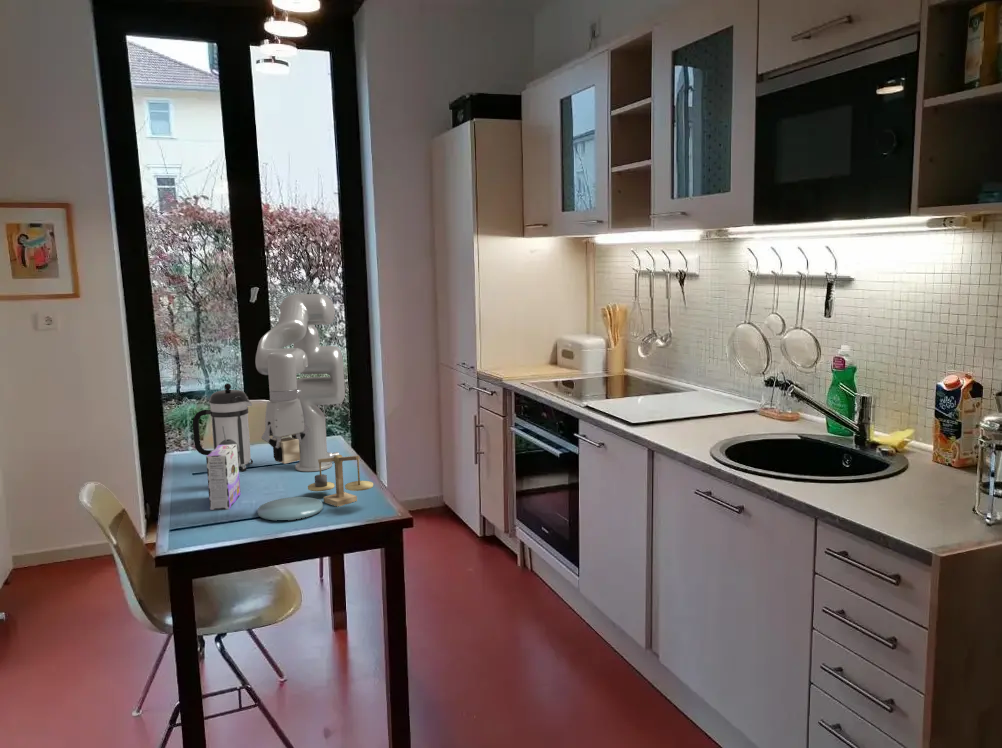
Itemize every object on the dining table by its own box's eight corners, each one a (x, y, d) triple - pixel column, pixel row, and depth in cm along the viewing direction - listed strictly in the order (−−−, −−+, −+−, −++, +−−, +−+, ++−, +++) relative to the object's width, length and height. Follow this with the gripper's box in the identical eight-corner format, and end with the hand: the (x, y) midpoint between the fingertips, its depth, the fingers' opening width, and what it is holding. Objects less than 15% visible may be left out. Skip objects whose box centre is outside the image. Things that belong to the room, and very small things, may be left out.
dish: (300, 498, 236) (300, 493, 236) (335, 510, 224) (335, 505, 224) (246, 513, 223) (245, 507, 223) (279, 527, 211) (279, 521, 211)
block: (290, 457, 225) (289, 437, 224) (300, 460, 221) (298, 439, 220) (275, 460, 221) (273, 440, 220) (284, 463, 218) (283, 442, 217)
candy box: (221, 496, 240) (218, 444, 238) (241, 495, 241) (237, 443, 238) (209, 510, 226) (204, 455, 224) (229, 509, 227) (225, 454, 224)
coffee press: (242, 459, 284) (236, 378, 280) (263, 467, 273) (257, 383, 268) (195, 469, 272) (188, 384, 268) (215, 477, 261) (208, 389, 256)
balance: (325, 489, 245) (322, 441, 242) (379, 507, 226) (377, 455, 223) (303, 495, 239) (300, 446, 236) (357, 514, 220) (354, 461, 218)
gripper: (302, 390, 227) (306, 451, 230) (249, 398, 215) (253, 462, 218) (317, 393, 222) (320, 455, 225) (263, 401, 210) (267, 467, 212)
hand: (287, 458), depth 221 cm, fingers closed on block, 5 cm apart
